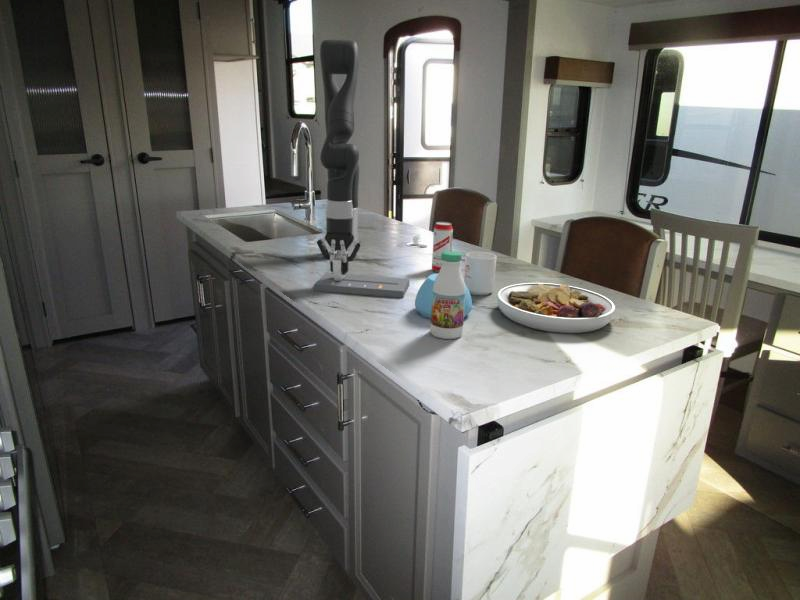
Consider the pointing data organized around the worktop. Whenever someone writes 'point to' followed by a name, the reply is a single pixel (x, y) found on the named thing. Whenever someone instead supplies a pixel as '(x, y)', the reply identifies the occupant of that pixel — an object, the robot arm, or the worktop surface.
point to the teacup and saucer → (417, 241)
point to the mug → (480, 272)
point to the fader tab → (338, 268)
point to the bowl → (555, 307)
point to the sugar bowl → (425, 298)
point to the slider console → (363, 285)
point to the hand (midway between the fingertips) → (339, 273)
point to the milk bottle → (448, 298)
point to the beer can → (441, 243)
